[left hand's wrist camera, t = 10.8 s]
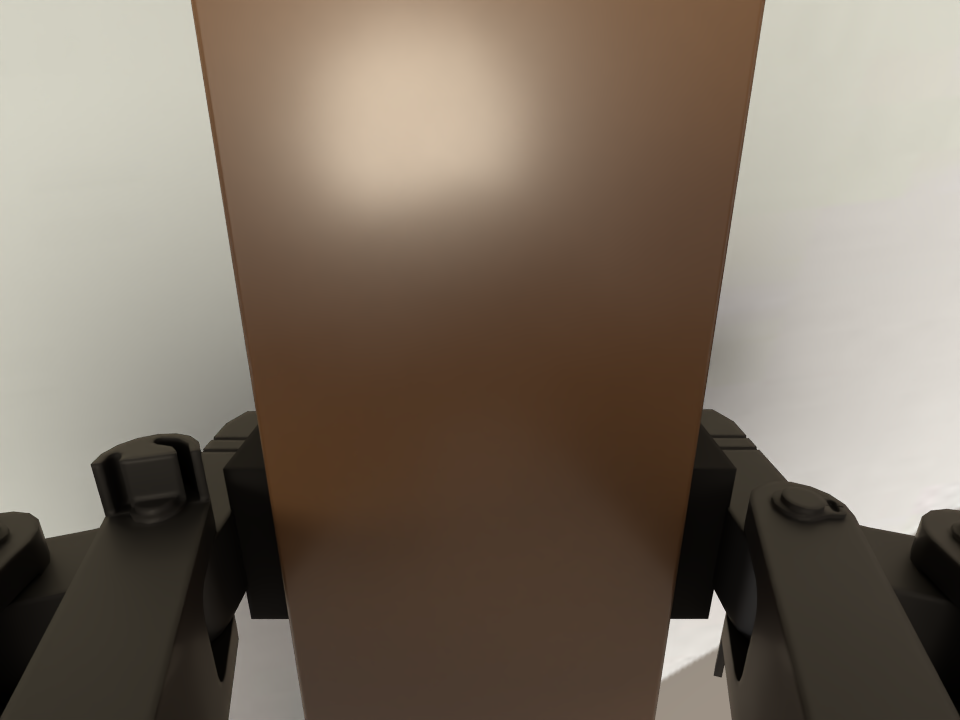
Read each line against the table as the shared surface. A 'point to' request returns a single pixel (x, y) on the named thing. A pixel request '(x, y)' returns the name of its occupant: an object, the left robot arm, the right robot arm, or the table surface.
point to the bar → (478, 330)
